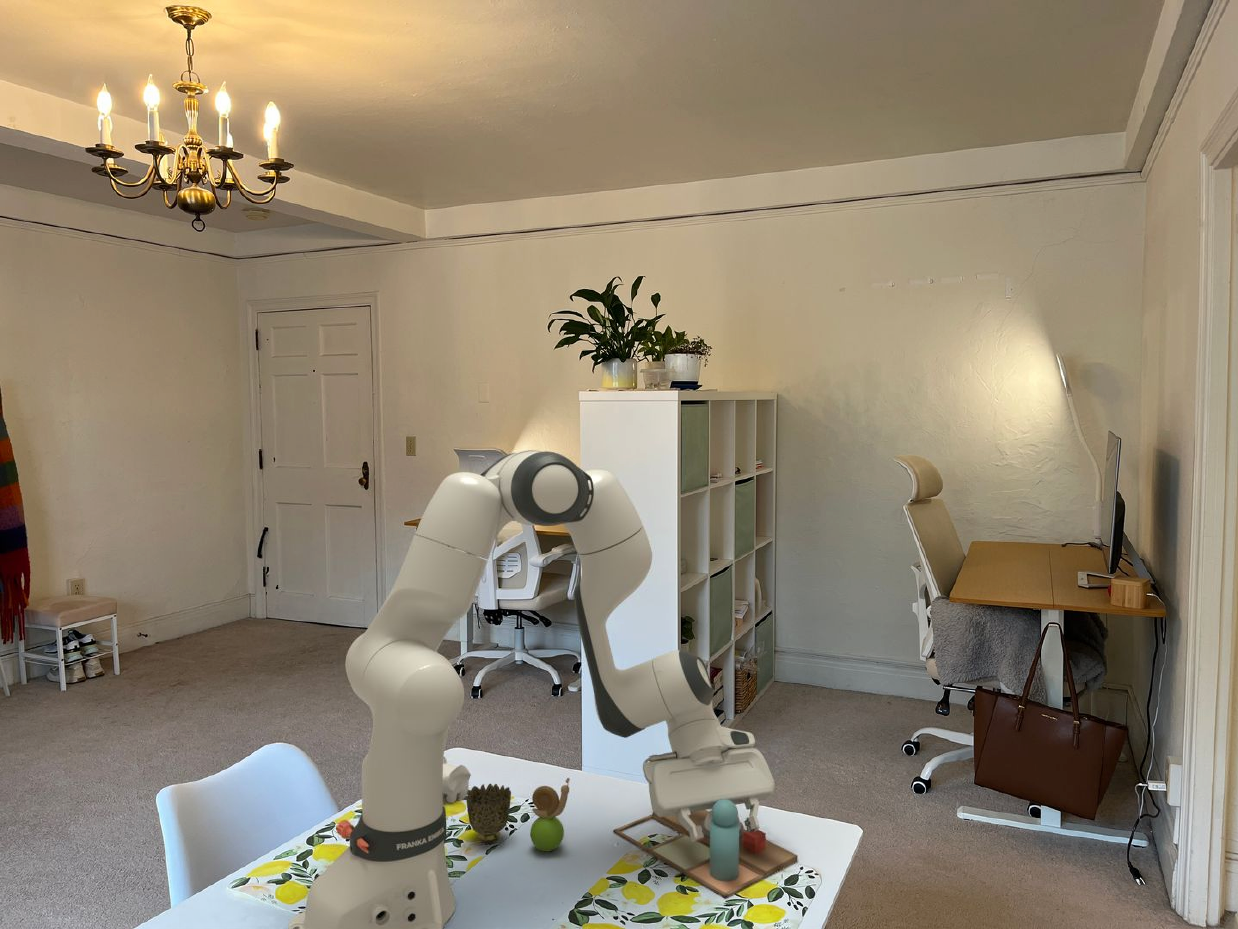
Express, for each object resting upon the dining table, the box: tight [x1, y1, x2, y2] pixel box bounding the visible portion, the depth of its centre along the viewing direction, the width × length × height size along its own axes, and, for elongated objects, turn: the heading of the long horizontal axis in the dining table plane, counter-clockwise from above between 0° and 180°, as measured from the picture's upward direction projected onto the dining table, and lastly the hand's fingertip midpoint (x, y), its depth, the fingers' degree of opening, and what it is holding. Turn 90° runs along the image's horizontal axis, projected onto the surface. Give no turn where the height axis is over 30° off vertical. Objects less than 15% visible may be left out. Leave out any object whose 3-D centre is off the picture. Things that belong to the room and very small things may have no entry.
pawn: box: [710, 799, 739, 881], centre depth 132 cm, size 4×4×12 cm
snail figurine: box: [529, 777, 571, 852], centre depth 140 cm, size 5×6×12 cm
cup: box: [465, 783, 512, 844], centre depth 143 cm, size 8×7×8 cm
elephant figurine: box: [443, 756, 472, 804], centre depth 158 cm, size 8×10×7 cm
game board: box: [612, 809, 799, 899], centre depth 141 cm, size 16×26×6 cm, turn 40°
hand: (726, 835), depth 132 cm, fingers open, 8 cm apart
